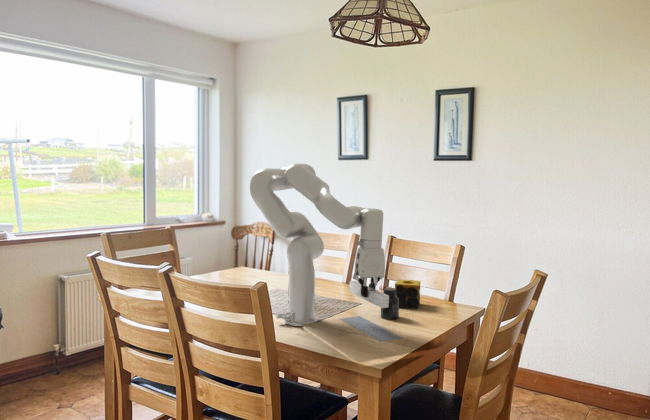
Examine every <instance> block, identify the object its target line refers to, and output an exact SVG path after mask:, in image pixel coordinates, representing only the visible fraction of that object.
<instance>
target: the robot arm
mask: <svg viewBox="0 0 650 420" xmlns="http://www.w3.org/2000/svg"><path fill="white" fill-rule="evenodd" d="M292 189H295V191H297V192H298V193H300V195H302V196H303V197H304V198H306V199H308V200H309V202H311V203H312V204H313V205H314V206H315V208H316V209H317V210H318V211H319V214H321V215H322V216H323V217H324V218H326V219H327V221H329V222H330V223H332V224H333V225H335V226H336V227H337V228H340V229H341V230H350V229H353V228H360V235H359V236H360V237H359V241H357V242H356V244H357V246H359V247H358V248H357V252H356V256H355V263H354V273H353V276H352V279H353V280H354V281H357V282H359V283H360V285H361V296H363V297H365V298H366V297H367V289H368V287H370V288H373V289H375V290H377V289H376V288H377V286H378V283H379V282H380V280H382V279H384V278H385V277H386V276H385V275H386V273H385V272H386V259H385V258H386V257H385V249H384V248H383V247H382V245H383V244H382V242H383V228H384V226H383V225H384V212H383V210H382V209H381V208H373V207H372V208H371V207H369V208H366V207H361V206H356V205H352V206H346V205H345V204H343V203H341V202H340V201H339V200H338V199H336V197H334V196H333V195H332V193H331V191H330V186H329V184H328V183H327V182H326V181H324V180H323V179H321V178H320V177H319V176H317V174H316V171H315V169H314V168H313V167H312V166H311V165H310V164H307V163H292V164H290V165H289V166H287V167H281V168H261V169H259V170H257V171H255V172H254V174H253V175H252V177H251V179H250V182H249V193H250V197H251V198H252V200H253V203H255V205H256V206H257V208H258V209H259V210H260V212H261V213H262V214H263V216H264V218H265V219H266V220H267V222H268V223H269V225H270V226H271V227H272V229H273V230H274V232H275V233H276V235H277V236H278V237H280V238H281V239H283V240H285V239H292V240H291V241H290V243H289V244H288V246H287V249H286V256H287V264H288V308H287V309H285V311H284V312H279V313H276V315H275V317H276V319H277V320H279V319H282V320H283V321H284V323H285V324H286V325H288V326H291V327H292V326H293V327H304V325H305V324H312V323H316V322H318V320H319V317H318V316H316V315H315V309H316V307H315V297H316V294H315V289H316V272H315V266H314V260H317V259H318V258H319V257H321V256H322V255H323V253H324V250H325V246H324V245H325V244H324V240H323V239H322V238H321V235H320V234H319V233H318V231H317V230H316V229H315V227H314V226H313V225H312V223H311V221H310V220H309V219H308V218H307V217H306V215H304V214H303V213H301V212H298V211H290V210H289V209H288V207H286V205H285V203H284V201H282V200H281V198H280V197H279V196H277V194H276V193H275V191H276V192H278V191H284V190H292ZM368 279H370V280H369V281H370V283H368ZM303 324H304V325H303Z"/></svg>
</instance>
